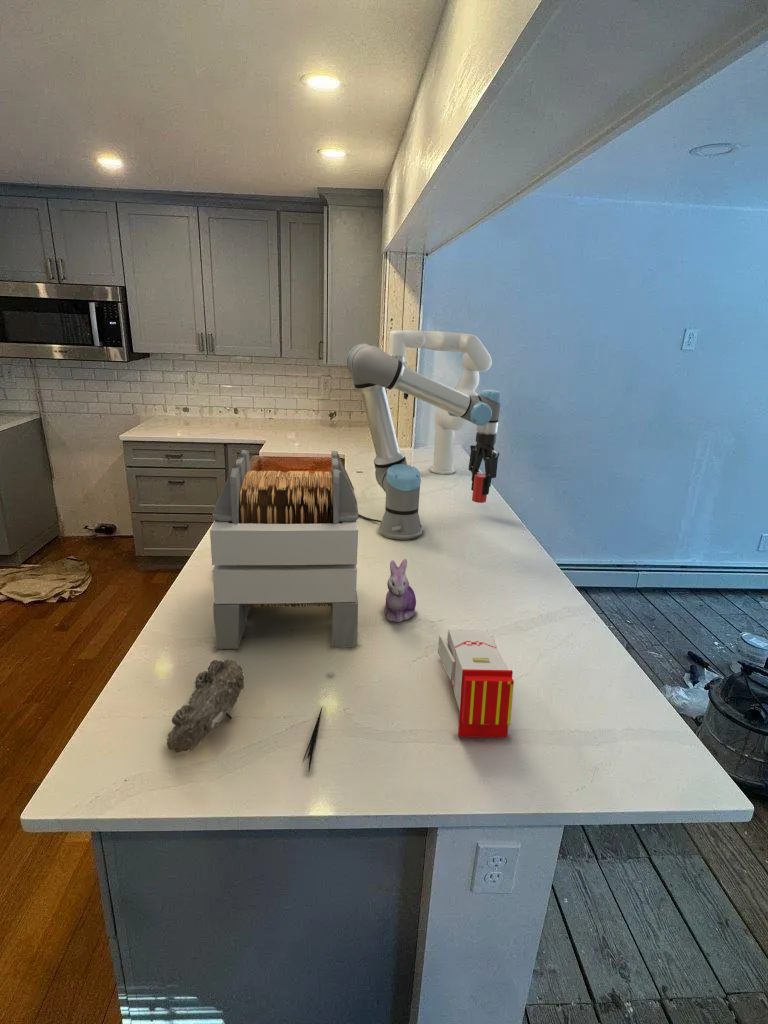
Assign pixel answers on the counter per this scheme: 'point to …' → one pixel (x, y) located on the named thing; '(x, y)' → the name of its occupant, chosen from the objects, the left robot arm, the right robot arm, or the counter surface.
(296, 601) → the grey record storage rack
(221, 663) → the fossil
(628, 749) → the counter surface
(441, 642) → the toy
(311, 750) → the feather
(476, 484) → the can
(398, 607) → the figurine
